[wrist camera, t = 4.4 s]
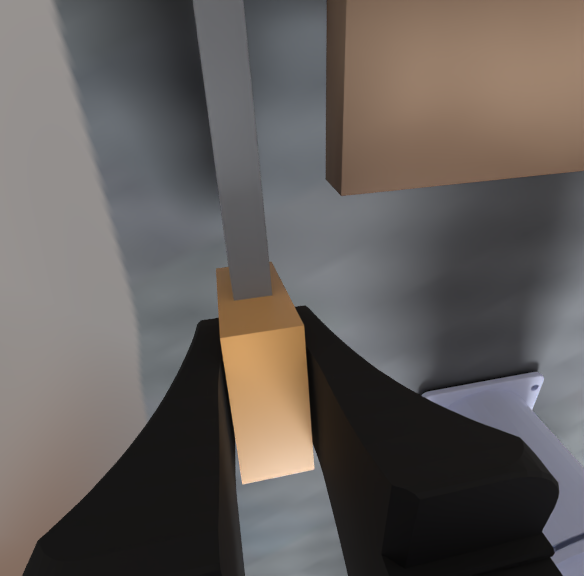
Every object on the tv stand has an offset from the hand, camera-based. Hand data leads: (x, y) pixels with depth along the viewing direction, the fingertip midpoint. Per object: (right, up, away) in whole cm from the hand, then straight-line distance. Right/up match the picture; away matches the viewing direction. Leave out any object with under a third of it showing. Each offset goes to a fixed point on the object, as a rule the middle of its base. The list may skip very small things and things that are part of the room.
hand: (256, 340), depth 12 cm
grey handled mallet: (-1, +5, 0) cm, 5 cm away
